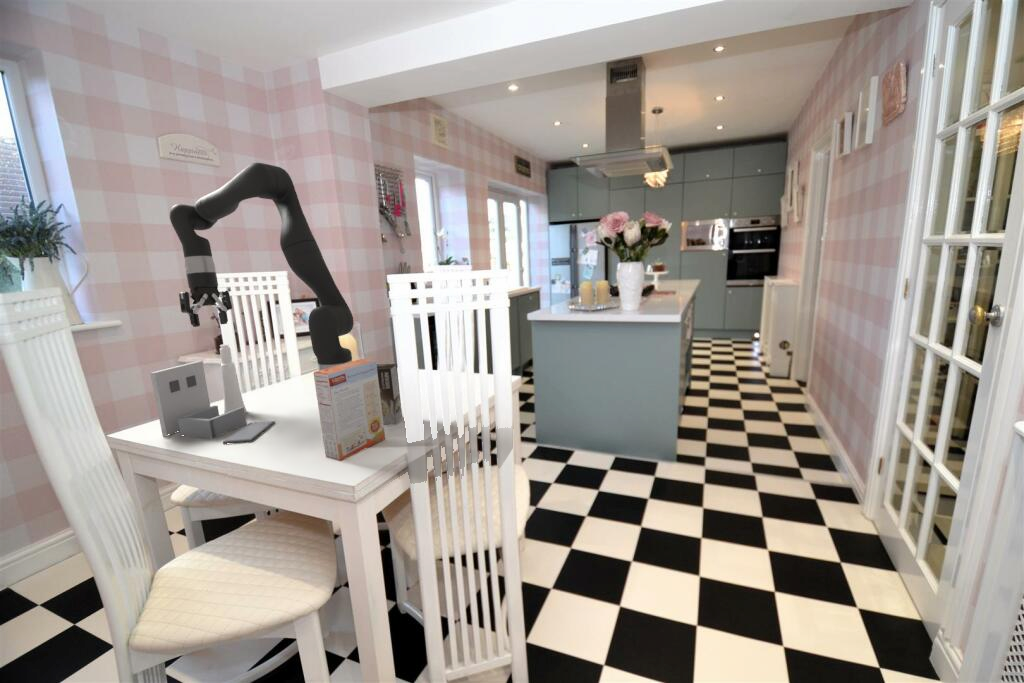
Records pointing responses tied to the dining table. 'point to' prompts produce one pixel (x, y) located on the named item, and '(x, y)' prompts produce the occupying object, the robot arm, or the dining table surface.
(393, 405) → the coffee box
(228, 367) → the cosmetic bottle
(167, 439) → the dining table surface
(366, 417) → the cracker box
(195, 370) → the outlet dock
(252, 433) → the phone
